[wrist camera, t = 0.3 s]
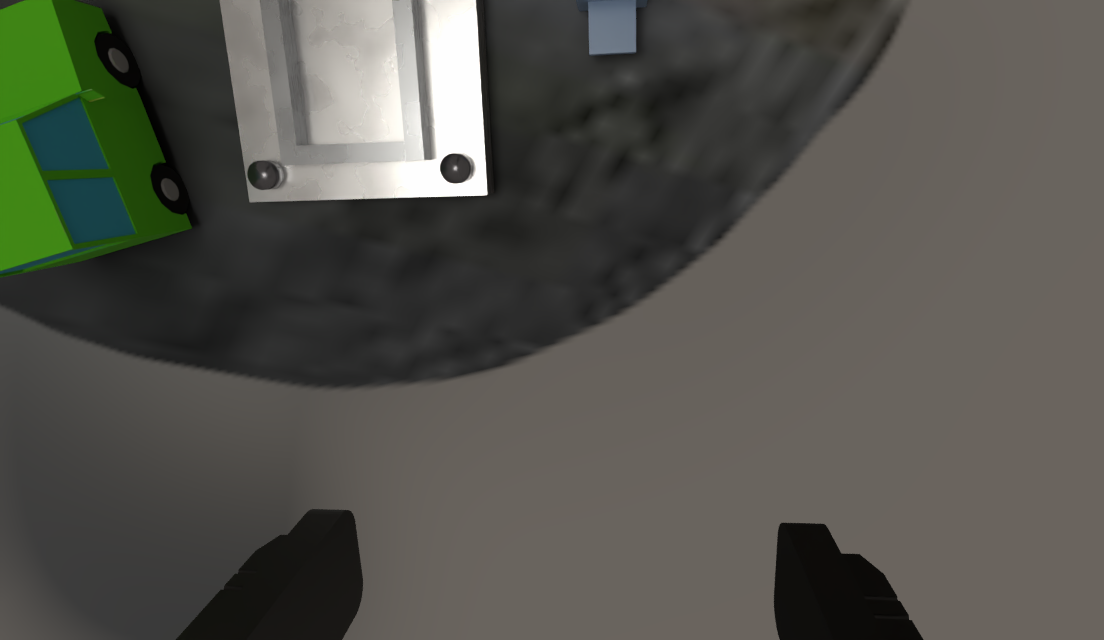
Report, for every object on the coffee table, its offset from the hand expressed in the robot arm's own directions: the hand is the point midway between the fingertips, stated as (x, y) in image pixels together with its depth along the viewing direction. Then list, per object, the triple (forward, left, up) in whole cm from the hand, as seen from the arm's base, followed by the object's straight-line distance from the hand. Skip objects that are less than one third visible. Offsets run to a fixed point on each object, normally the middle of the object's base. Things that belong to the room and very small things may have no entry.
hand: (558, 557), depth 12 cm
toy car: (-9, -30, -28) cm, 42 cm away
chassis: (-12, -13, -27) cm, 33 cm away
